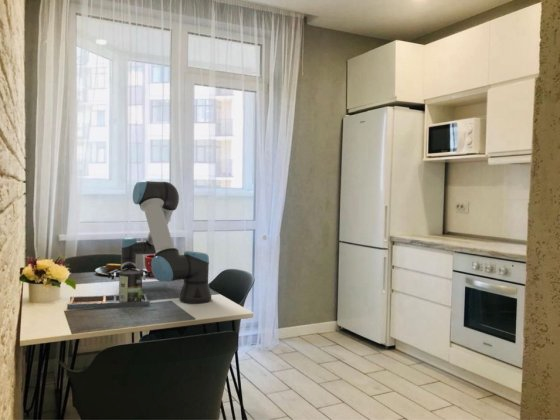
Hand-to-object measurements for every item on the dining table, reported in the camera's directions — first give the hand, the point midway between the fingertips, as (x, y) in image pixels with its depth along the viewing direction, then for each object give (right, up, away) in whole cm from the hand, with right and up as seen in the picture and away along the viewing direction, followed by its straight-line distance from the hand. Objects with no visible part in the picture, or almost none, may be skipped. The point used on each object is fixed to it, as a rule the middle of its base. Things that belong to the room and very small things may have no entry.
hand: (129, 277), depth 228 cm
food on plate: (-28, -7, +63) cm, 69 cm away
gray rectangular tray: (-5, -10, -12) cm, 17 cm away
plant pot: (-3, -7, +60) cm, 61 cm away
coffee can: (+3, -10, -9) cm, 14 cm away
